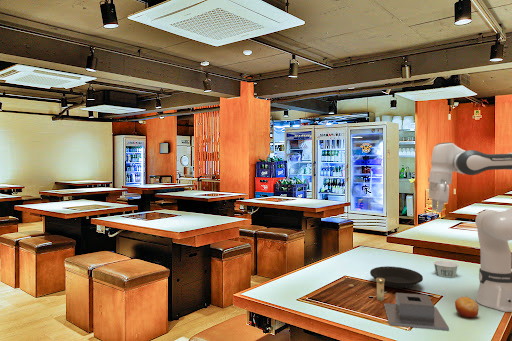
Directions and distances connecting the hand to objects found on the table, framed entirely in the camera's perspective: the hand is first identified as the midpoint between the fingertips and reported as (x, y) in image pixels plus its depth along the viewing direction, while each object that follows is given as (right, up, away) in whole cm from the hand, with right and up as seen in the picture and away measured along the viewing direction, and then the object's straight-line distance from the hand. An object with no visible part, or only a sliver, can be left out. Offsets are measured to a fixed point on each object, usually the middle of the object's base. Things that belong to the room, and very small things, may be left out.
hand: (436, 210), depth 164 cm
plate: (-11, -39, +20) cm, 45 cm away
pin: (-25, -39, 0) cm, 46 cm away
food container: (+22, -39, +36) cm, 57 cm away
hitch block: (-18, -39, -19) cm, 47 cm away
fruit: (+3, -39, -18) cm, 43 cm away
